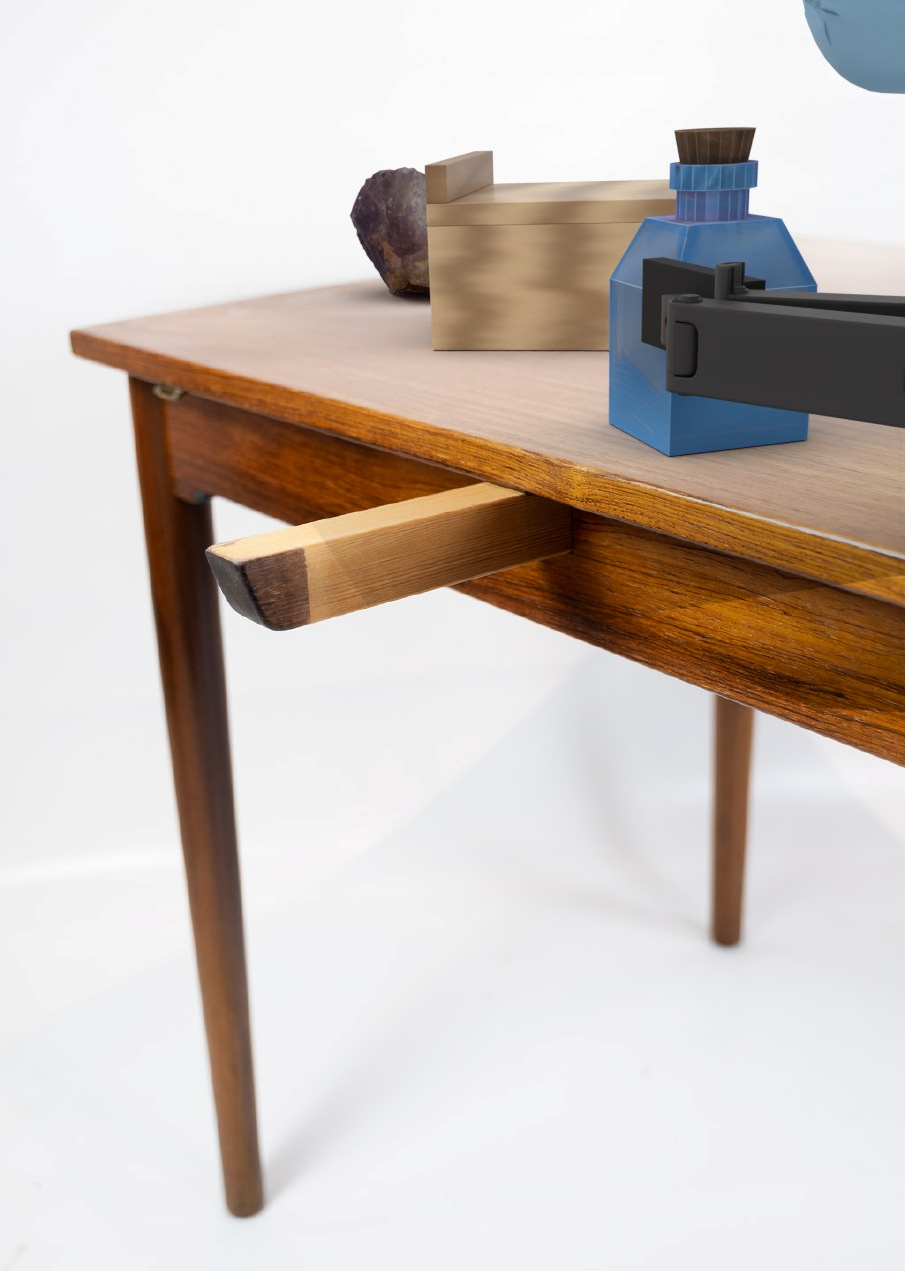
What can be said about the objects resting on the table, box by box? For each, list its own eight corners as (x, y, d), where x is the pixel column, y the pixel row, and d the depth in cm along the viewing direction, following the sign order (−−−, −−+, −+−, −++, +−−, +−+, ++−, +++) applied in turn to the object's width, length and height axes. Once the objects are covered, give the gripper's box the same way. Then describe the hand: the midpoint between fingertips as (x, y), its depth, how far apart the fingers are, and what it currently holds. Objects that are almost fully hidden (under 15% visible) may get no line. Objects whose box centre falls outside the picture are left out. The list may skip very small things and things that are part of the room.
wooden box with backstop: (723, 309, 85) (730, 143, 82) (717, 350, 73) (724, 156, 69) (479, 310, 89) (474, 151, 85) (432, 350, 76) (424, 165, 72)
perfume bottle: (807, 439, 55) (827, 127, 50) (668, 456, 53) (676, 135, 49) (736, 408, 60) (748, 124, 56) (608, 422, 59) (610, 131, 54)
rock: (491, 298, 102) (361, 297, 103) (493, 180, 100) (360, 181, 101) (480, 296, 91) (334, 295, 91) (481, 163, 89) (332, 164, 89)
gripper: (870, 669, 25) (494, 429, 44) (1761, 506, 32) (1108, 359, 51) (907, 263, 23) (488, 191, 41) (1876, 179, 29) (1139, 150, 48)
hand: (830, 283), depth 46 cm, fingers open, 13 cm apart
